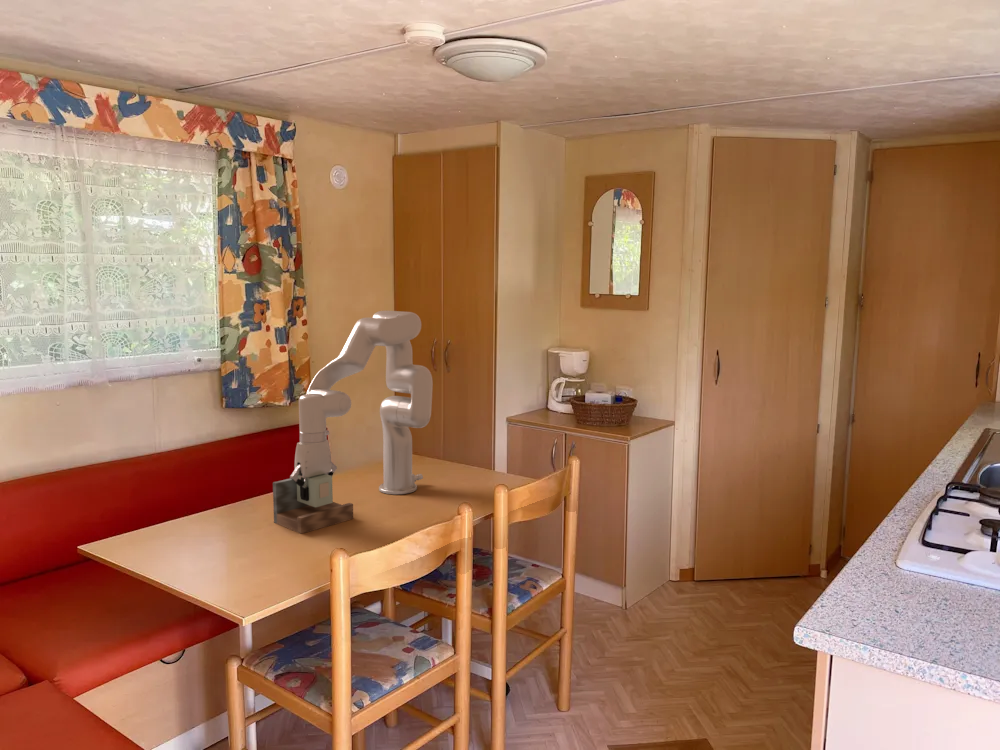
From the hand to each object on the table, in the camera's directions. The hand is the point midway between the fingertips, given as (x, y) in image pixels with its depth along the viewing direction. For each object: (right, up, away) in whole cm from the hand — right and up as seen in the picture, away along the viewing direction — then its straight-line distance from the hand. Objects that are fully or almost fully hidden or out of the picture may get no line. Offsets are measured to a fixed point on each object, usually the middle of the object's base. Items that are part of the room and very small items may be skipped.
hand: (314, 496), depth 226 cm
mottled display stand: (0, -7, +1) cm, 7 cm away
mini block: (0, -1, 0) cm, 1 cm away
